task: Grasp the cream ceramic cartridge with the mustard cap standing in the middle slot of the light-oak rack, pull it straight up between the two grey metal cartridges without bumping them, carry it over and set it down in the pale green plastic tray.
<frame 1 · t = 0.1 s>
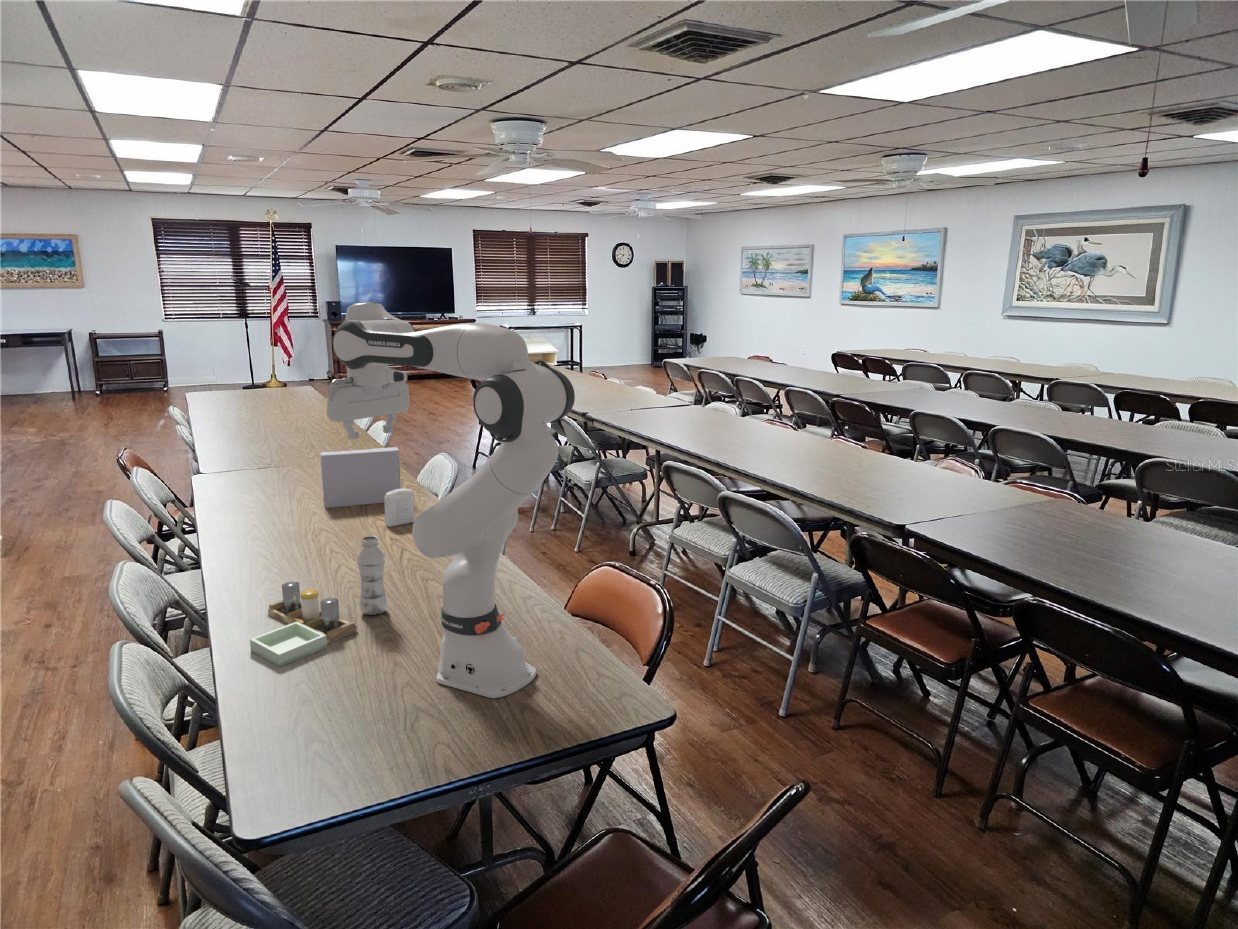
hand: (371, 435, 173), 48 cm above the table, fingers open, 8 cm apart
rack: (311, 622, 186), on the table
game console: (362, 503, 283), on the table
tray: (289, 649, 173), on the table
plastic bottle: (373, 613, 193), on the table
canister b: (292, 614, 191), resting in rack
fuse: (310, 607, 185), in the rack
canister a: (331, 632, 182), resting in rack
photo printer: (400, 524, 261), on the table
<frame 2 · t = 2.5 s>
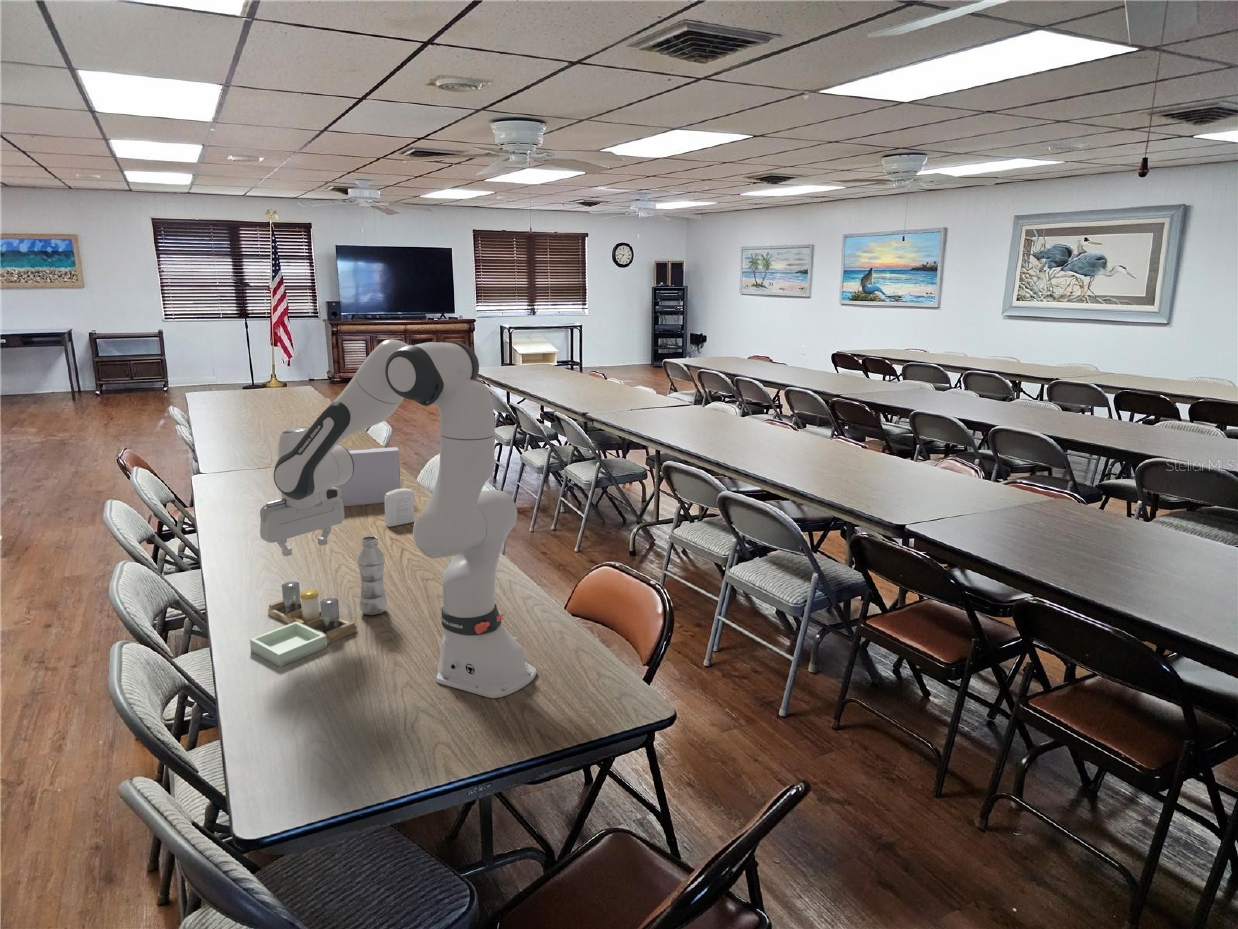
hand: (305, 549, 182), 19 cm above the table, fingers open, 8 cm apart
nothing on the table moved.
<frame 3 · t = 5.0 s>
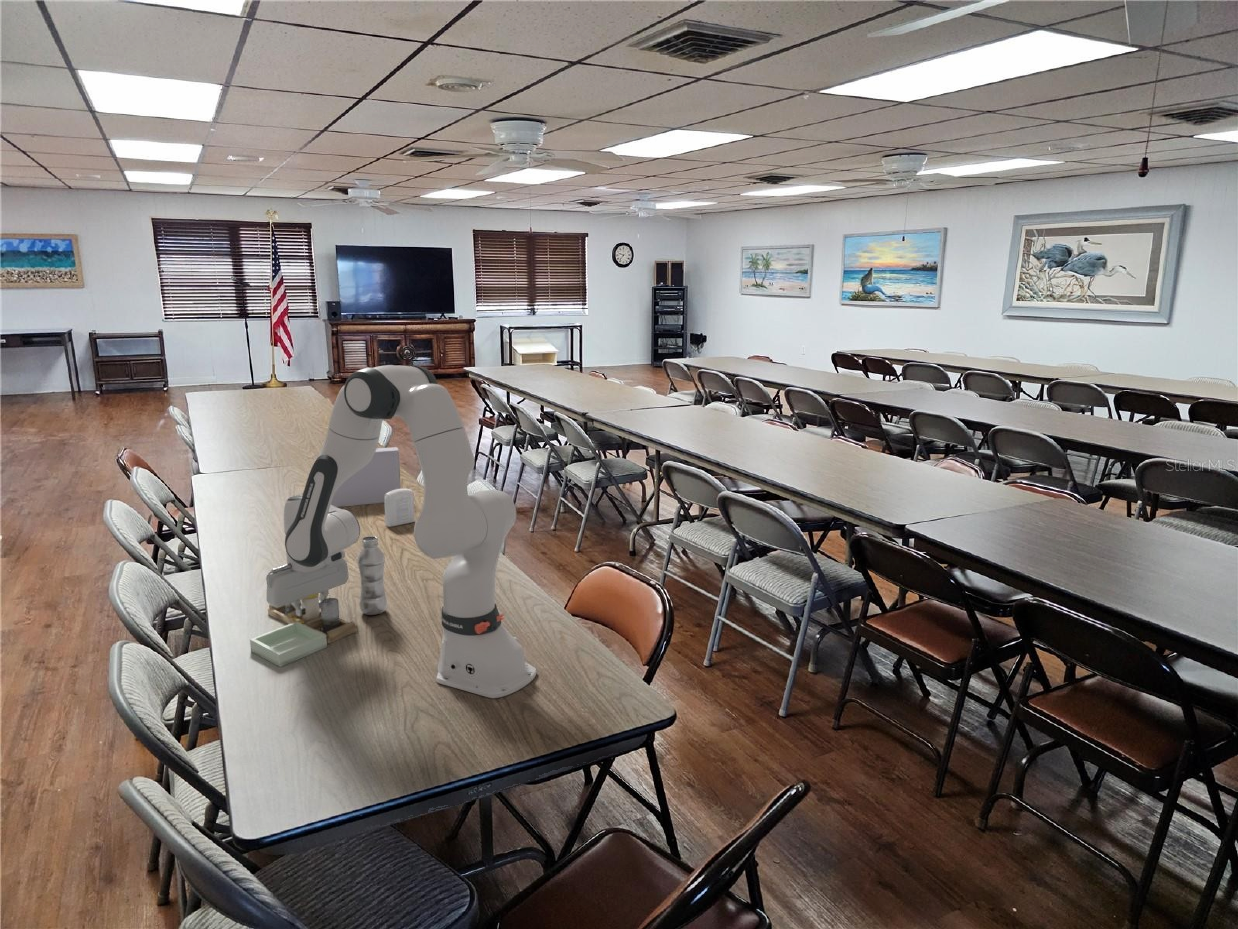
hand: (310, 611, 186), 3 cm above the table, fingers closed on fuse, 4 cm apart
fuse: (310, 607, 185), in the rack, touching gripper
everything else where it was.
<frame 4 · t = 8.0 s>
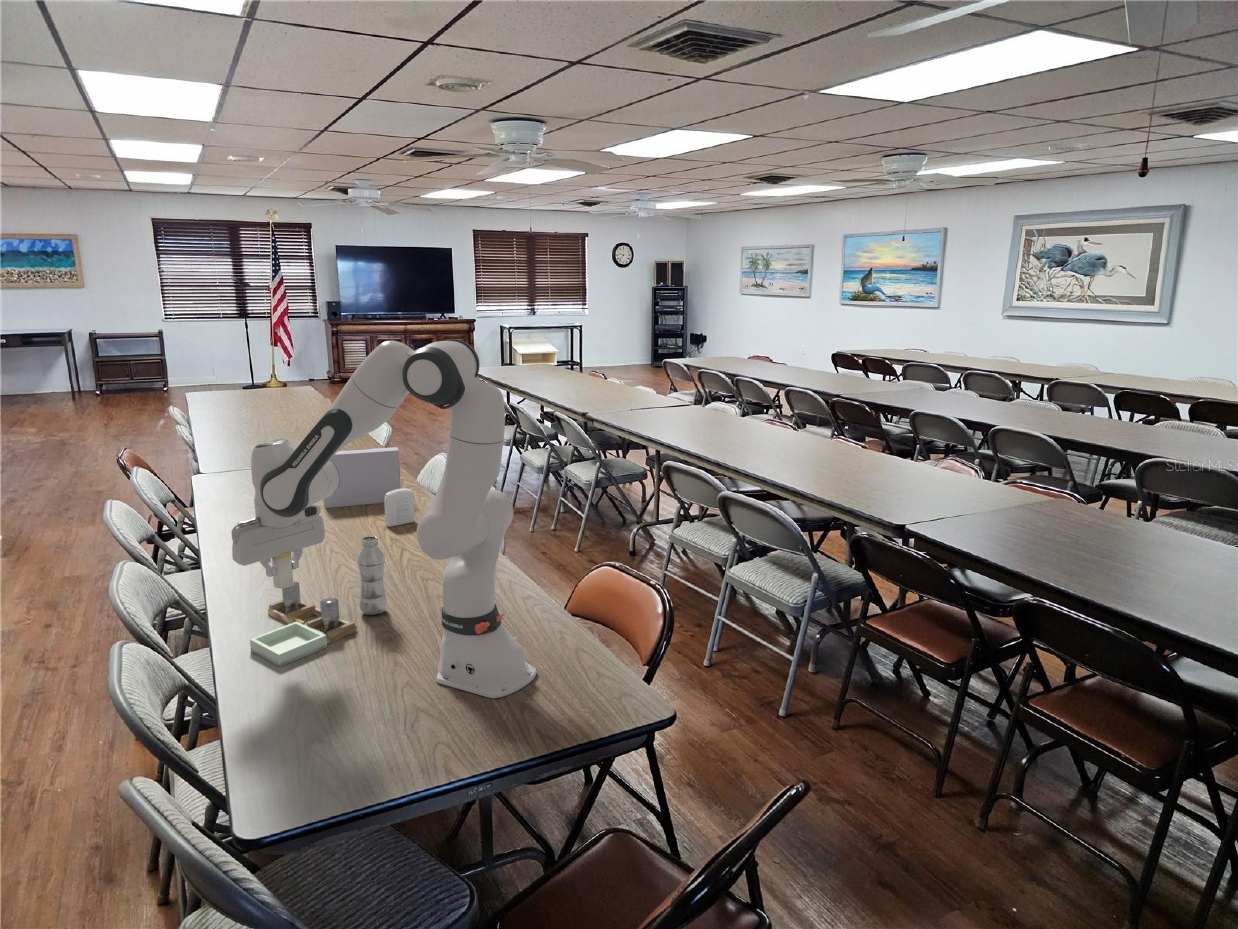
hand: (282, 571, 169), 19 cm above the table, fingers closed on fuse, 4 cm apart
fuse: (282, 568, 168), point 20 cm above the table, touching gripper
everything else where it was.
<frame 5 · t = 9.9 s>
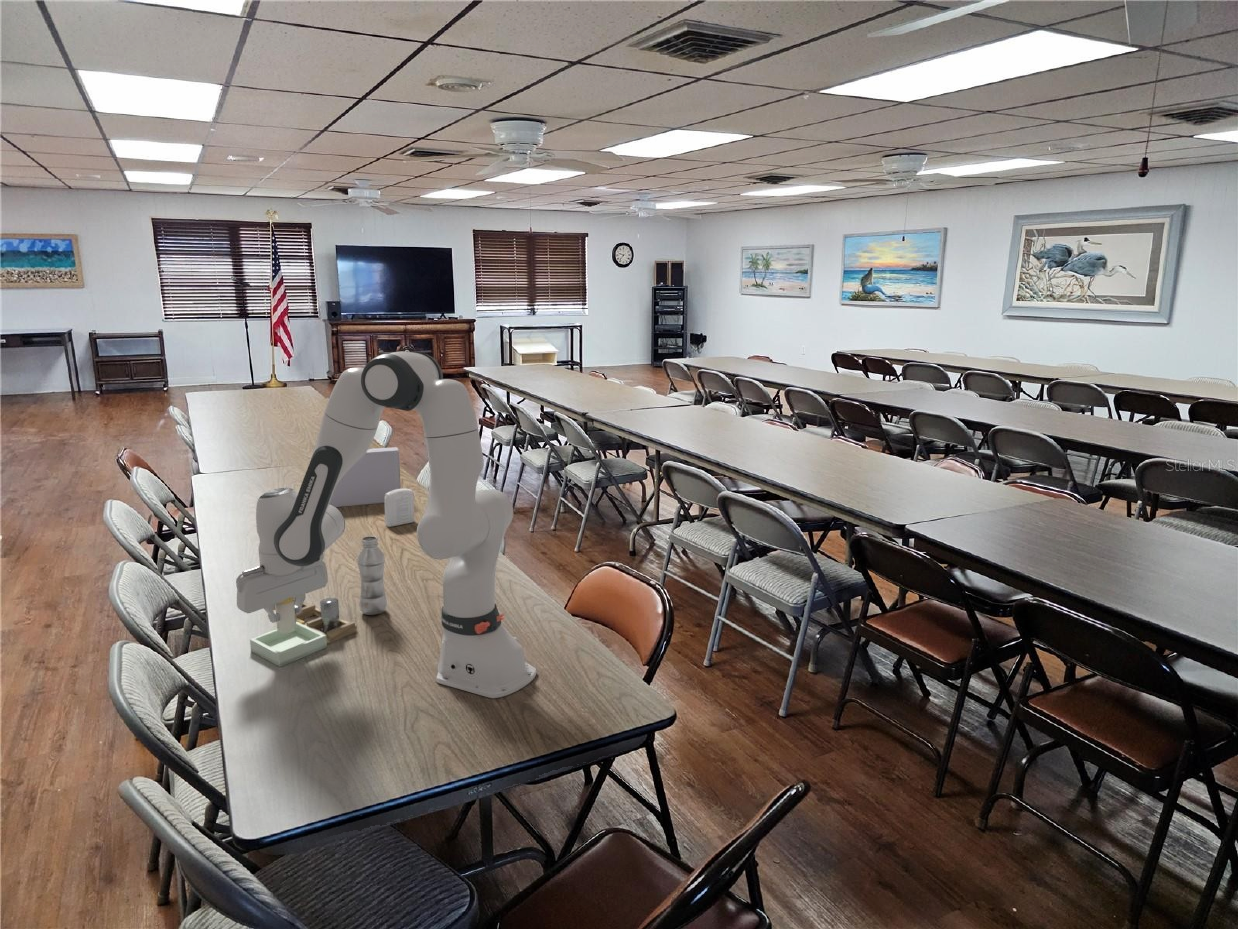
hand: (286, 617, 171), 8 cm above the table, fingers closed on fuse, 4 cm apart
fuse: (285, 613, 171), point 9 cm above the table, touching gripper
everything else where it was.
when the fingers open (6 cm above the table, at t = 11.2 s): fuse drops 2 cm, resting on tray.
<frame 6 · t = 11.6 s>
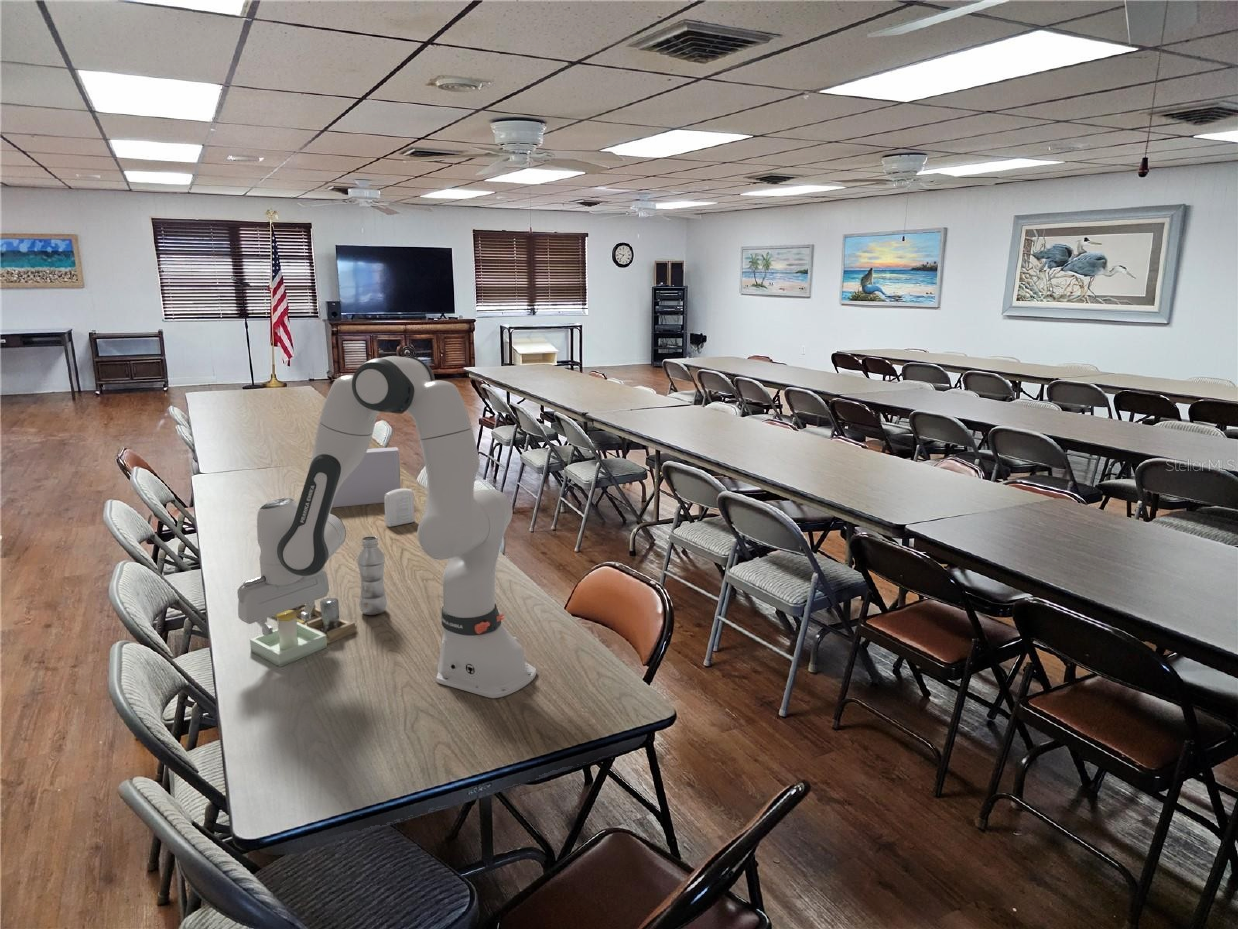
hand: (287, 627, 172), 6 cm above the table, fingers open, 8 cm apart
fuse: (287, 630, 172), in the tray, point 5 cm above the table
everything else where it was.
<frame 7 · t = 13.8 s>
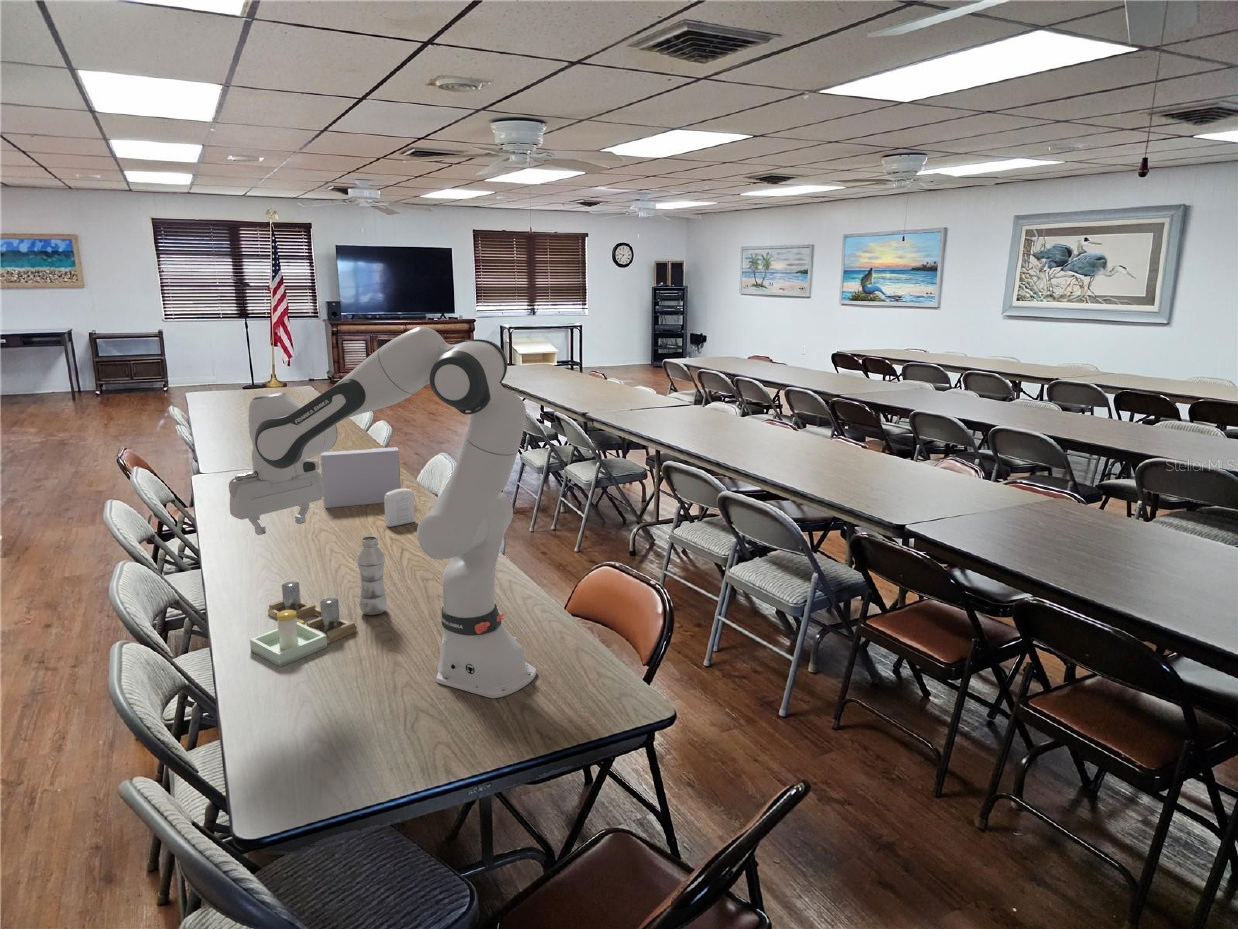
hand: (281, 528, 166), 29 cm above the table, fingers open, 8 cm apart
nothing on the table moved.
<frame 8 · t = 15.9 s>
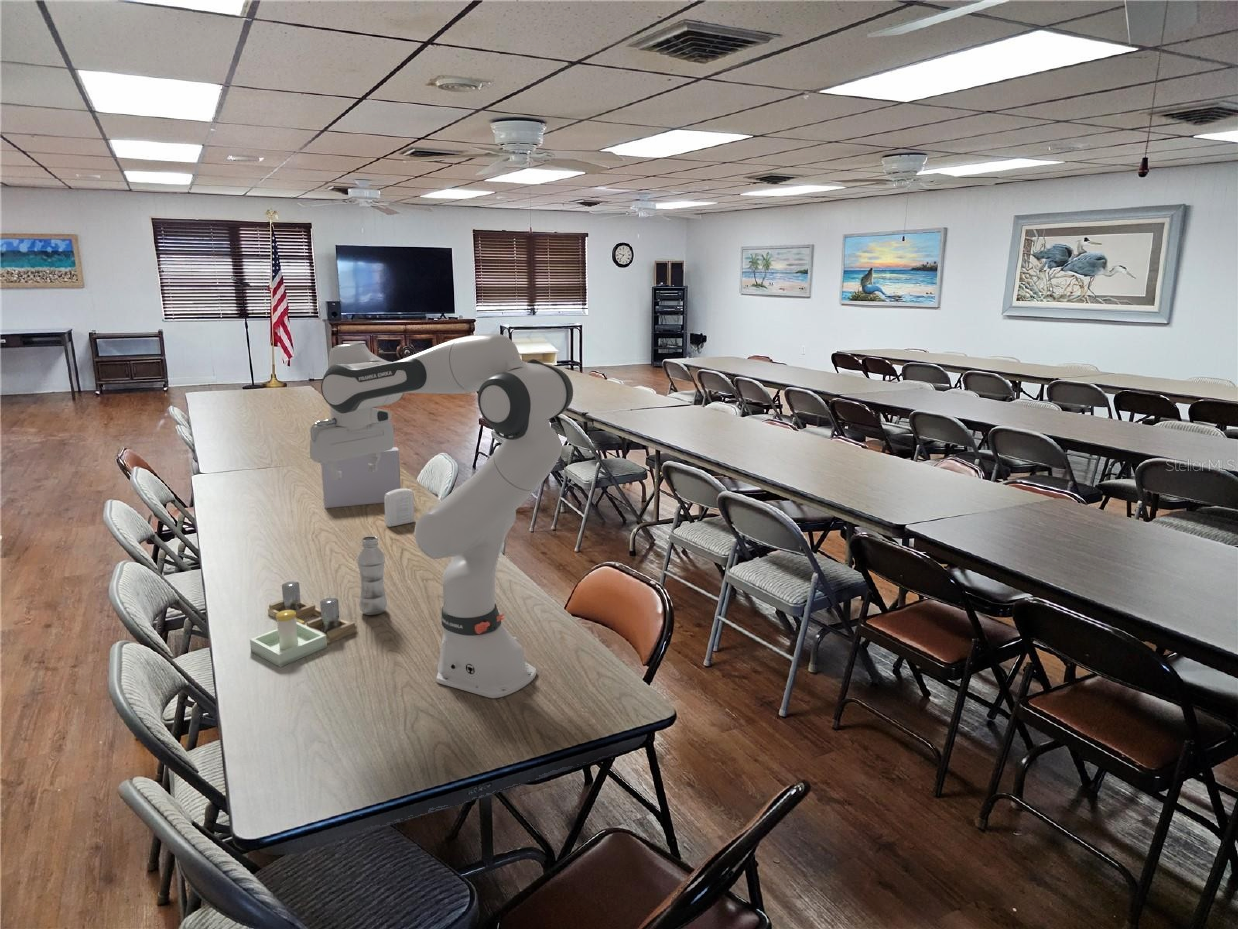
hand: (355, 475, 173), 39 cm above the table, fingers open, 8 cm apart
nothing on the table moved.
at the end: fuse inside the target area on the tray (0.0 cm from its centre), point 4.8 cm above the tray's base; canister a moved 0.0 cm from its start; canister b moved 0.0 cm from its start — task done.
